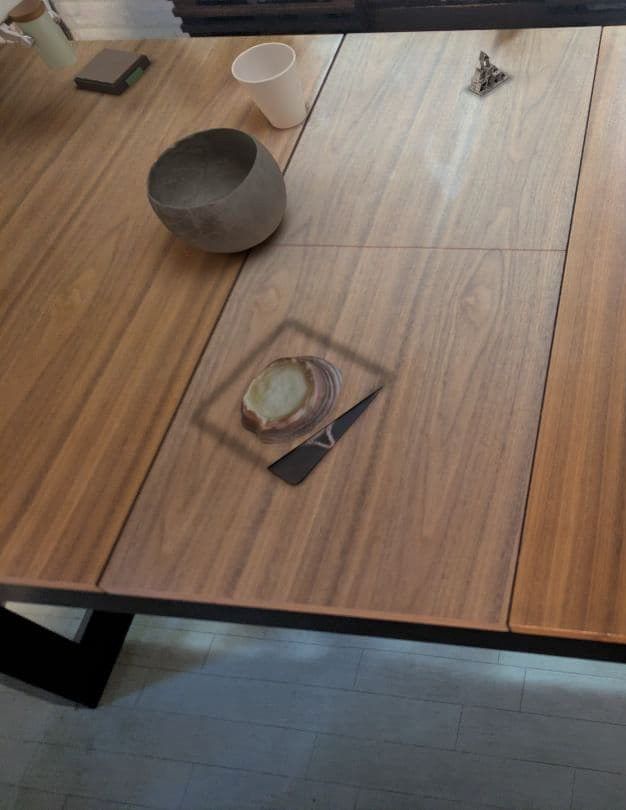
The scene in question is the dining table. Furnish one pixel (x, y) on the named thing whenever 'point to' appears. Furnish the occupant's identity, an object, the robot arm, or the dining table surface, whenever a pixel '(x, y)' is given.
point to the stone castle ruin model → (486, 76)
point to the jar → (44, 34)
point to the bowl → (218, 190)
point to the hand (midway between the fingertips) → (45, 33)
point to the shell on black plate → (297, 411)
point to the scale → (112, 71)
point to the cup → (272, 82)
